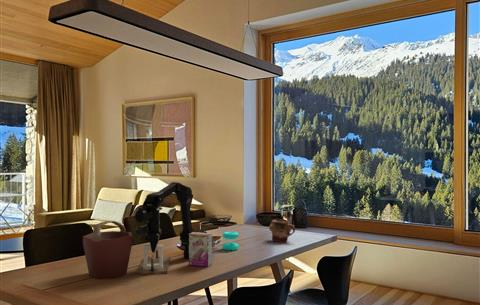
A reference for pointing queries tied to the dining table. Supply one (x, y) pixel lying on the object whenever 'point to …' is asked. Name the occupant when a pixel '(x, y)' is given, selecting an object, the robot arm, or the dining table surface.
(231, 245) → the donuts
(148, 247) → the hollow square tube
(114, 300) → the dining table surface
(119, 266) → the bucket
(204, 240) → the candy bar box
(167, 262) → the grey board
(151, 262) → the bent copper wire
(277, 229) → the brown ceramic mug
